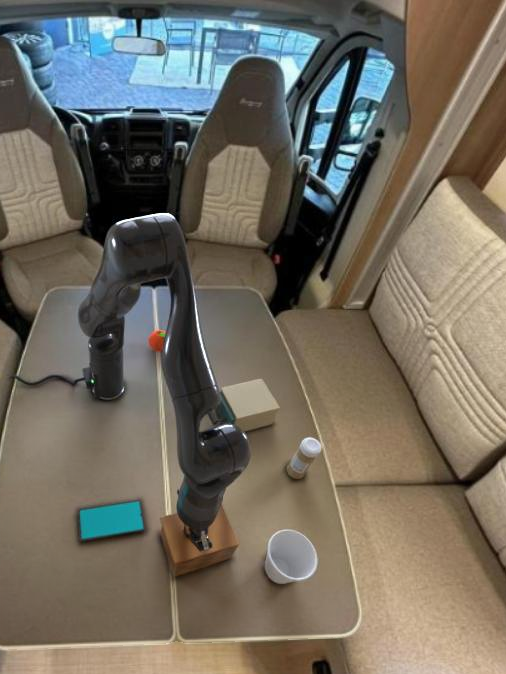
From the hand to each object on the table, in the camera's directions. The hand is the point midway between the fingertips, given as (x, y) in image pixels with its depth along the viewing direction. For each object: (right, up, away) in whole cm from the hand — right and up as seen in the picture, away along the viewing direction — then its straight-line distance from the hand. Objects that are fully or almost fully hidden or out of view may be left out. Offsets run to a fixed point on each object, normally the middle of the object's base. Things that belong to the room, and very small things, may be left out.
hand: (189, 533), depth 86 cm
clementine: (-4, +41, +49) cm, 64 cm away
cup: (+20, -11, +6) cm, 24 cm away
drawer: (+16, +21, +31) cm, 41 cm away
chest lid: (+2, 0, +1) cm, 3 cm away
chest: (+2, -6, +9) cm, 11 cm away
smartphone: (-17, -2, +12) cm, 21 cm away
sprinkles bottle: (+30, +8, +22) cm, 38 cm away
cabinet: (+19, +21, +33) cm, 44 cm away
